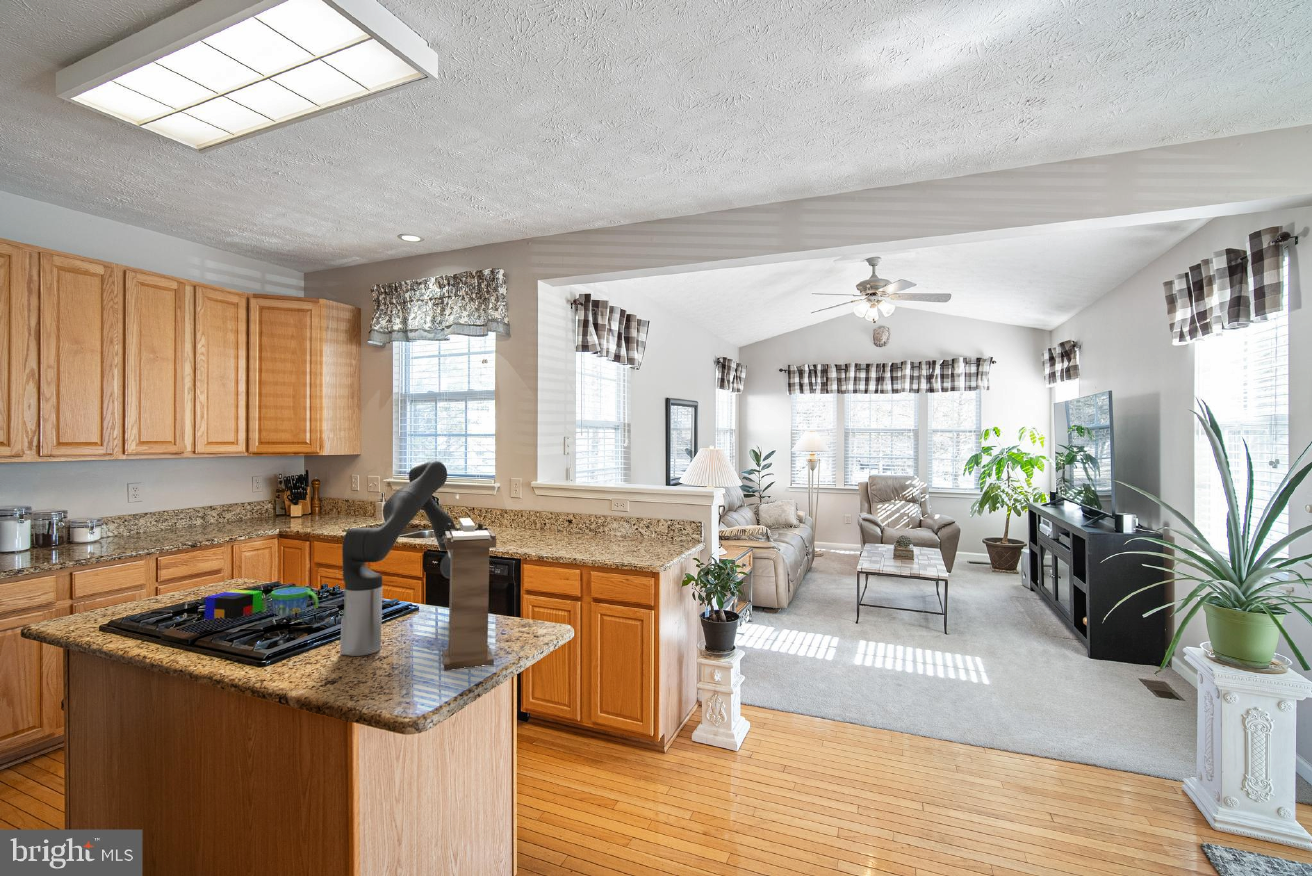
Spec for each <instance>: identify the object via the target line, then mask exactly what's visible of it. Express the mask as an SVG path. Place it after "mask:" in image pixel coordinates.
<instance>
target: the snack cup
mask: <svg viewBox="0 0 1312 876" xmlns="http://www.w3.org/2000/svg"><path fill="white" fill-rule="evenodd" d="M310 596H311V598H312V599H313V601H314V607H313V608H314V609H313V611H314V610H315V609H316V608H319V598H318V596H317V594H316V593H315V592H314V591H312V590H311V588H309V587H302V586H292V587H283V588H278V589H274V590H272V591H271V592H270V593H268V594H266V595H265V596H264V598H262V607H261V609H262V612H265V611H266V610H267V609H268V608H267V601H268V598H269V597H271V600H272V608H273V615H274V614H276V615H287V614H295V613H297V612H301V611H302V610H305V609H306V610H307V605H308V602H309V598H310ZM266 612H267V611H266Z"/></svg>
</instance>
